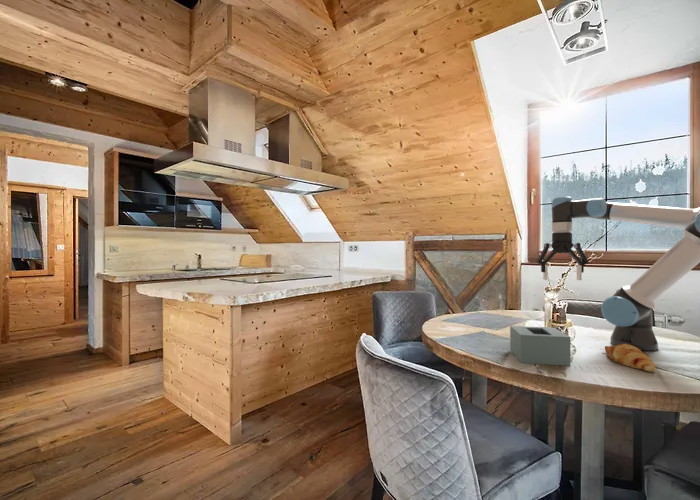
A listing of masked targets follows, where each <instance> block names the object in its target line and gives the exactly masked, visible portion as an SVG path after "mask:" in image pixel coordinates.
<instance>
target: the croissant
mask: <svg viewBox="0 0 700 500" xmlns="http://www.w3.org/2000/svg"><path fill="white" fill-rule="evenodd" d="M604 351H605V353H606V355H607V357H609V359H610V360H612V361H613V362H616V363H618V364H620V365H622V366H626V367H629V366H630V368H633V369H637V370H643V372H651V373H652V372H655V371H656V369H657V367H656V365H655V363H654V362H653V360H652V359H651V357H649V355H648V354H646V353H643V352H642V350H640V349H638V348H636V347H634V346H632V345H629V344H626V343H625V344H620V345H609V346H608V345H606V346H604Z"/></svg>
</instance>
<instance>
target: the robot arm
mask: <svg viewBox="0 0 700 500" xmlns="http://www.w3.org/2000/svg"><path fill="white" fill-rule="evenodd" d="M551 204H552V205H551V219H552V221H551V227H552V228H551V231H552V232H553V233H551V240H552V241H551V243H548V242H546V243H544V245H543V248H542V250H541V253H540V254H539V257H538V258H537V260H536V264H538V265H540V269H541V270H540V272H541V273H543V279H542V280H544V281H548V274H549V273H548V267H549V266H548V265H547V264H548V262H549V261H550V260H551V259H552V258H553V257H554V256H555V255H556V254H568V255H570V257H571V258H572V259H573V260H574V262H576V263H577V265H576V280H577V281H582V274H583V273H584V268H585V267H584V266H585V265H587V264H589V263H590V262H589V259H588V258H587V256H586V255H585V253H584V251H583V249H582V246H581V243H580V242H575V243H573V233H572V231H573V219H577V218H579V219H580V218H591V219H597V220H607V221H617V222H623V223H624V222H625V223H626V222H627V223H635V224H641V225H642V224H643V225H651V226H661V227H669V228H678V229H683V232H684V233H683V234H684V235H683V237H682V238H680V240H679V241H677V242H676V243H675V244H674V245H673V246H672V247H671V248H670V249H668V250H667V251H666V252H665V253H664V254H663V255H662V256H661V257H660V258H659V259H658V260H656V262H655V263H652V264H653V265H651V266H650V267H649V268H648V269H647V270H646V271H645V272H643V274H642V275H640V276H639V277H637V279H636V280H635V281H634V282H633V283H631V284H630V285H622V286H621V287H620V289H617V290H615V293H614V294H613V295H612V296H609V297H608V298H607V297H606V298H605V300H603V302H602V304H601V306H600V310H601V314H602V316H603V318H604V320H605V321H607V322H608V323H609V324H611V325H614V328H613V331H612V333H611V336H610V344H611V345H612V346H616V345H620V344H625V343H626V344H629V345H632V346H634V347H636V348H638V349H640V351H642V350H655V351H657V350H656V349H658V350H659V343H658V339H657V338H656V335H655V333H654V330H653V309H655V307H656V306H655V301H656V300H657V299H659V298H660V297H661V296H662V295H663V294H664V293H665V292H667V291H668V290H669V289H670V288H672V286H674V285H675V284H676V283H678V281H679V280H681V279H682V278H683V277H684V276H685V275H687V274H688V273H689V272H690V271H691V270H693V269H694V268H695V267H696V266H698V264H699V263H700V207H697V208H688V207H675V206H663V205H651V204H650V205H648V204H637V203H636V204H634V203H625V202H624V203H623V202H612V201H606V200H605V199H604V198H603V197H599V198H597V197H596V198H595V197H593V198H588V199H580V200H573V198H572V197H571V196H558V197H555V198H553V199H552V201H551ZM550 248H552V250H551V251H550V252H549V253H548V251H549V249H550ZM572 248H574V249H575V251H576V252H577V254H576V253H575V252H574V251H573V249H572ZM547 253H548V255H547Z"/></svg>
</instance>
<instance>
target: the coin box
mask: <svg viewBox="0 0 700 500" xmlns="http://www.w3.org/2000/svg"><path fill="white" fill-rule="evenodd" d="M509 333H510V334H509V337H510V338H509V342H510V343H509V344H510V347H509V348H510V349H509V351H510V353H511V354H513V356H514V357H515V358H516V359H517V360H518V361H519V363H520V364H533V365H534V364H535V365H537V364H538V365H550V366H551V365H553V366H571V336H569V335H568V334H566V333H564V332H562V331H561V330H560V329H557V327H544V326H521V325H520V326H519V325H510V326H509Z"/></svg>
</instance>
